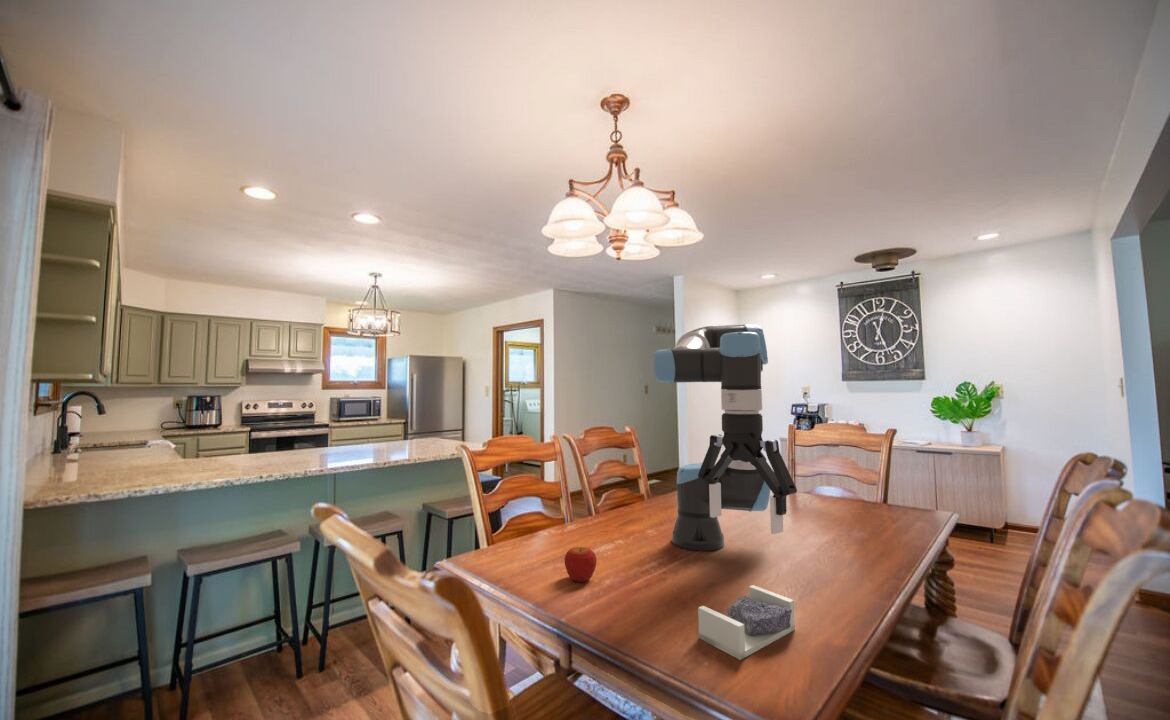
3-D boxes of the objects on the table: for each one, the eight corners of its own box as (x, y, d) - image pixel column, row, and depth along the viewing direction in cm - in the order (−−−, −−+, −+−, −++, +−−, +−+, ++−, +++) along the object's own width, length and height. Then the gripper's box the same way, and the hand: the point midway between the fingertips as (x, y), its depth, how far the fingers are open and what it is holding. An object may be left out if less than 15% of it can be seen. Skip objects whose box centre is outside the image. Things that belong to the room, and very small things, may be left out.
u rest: (698, 638, 89) (698, 607, 89) (753, 612, 99) (752, 584, 99) (740, 660, 81) (739, 626, 82) (794, 629, 91) (793, 600, 92)
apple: (600, 575, 119) (600, 543, 119) (590, 588, 111) (590, 553, 112) (571, 571, 121) (571, 540, 122) (559, 583, 114) (559, 550, 114)
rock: (797, 604, 90) (765, 612, 84) (797, 635, 89) (765, 645, 83) (743, 587, 99) (711, 593, 94) (743, 614, 99) (711, 622, 93)
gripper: (679, 410, 100) (681, 513, 99) (791, 416, 80) (795, 544, 79) (703, 409, 105) (705, 507, 104) (814, 414, 85) (819, 536, 83)
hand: (744, 524), depth 91 cm, fingers open, 13 cm apart
